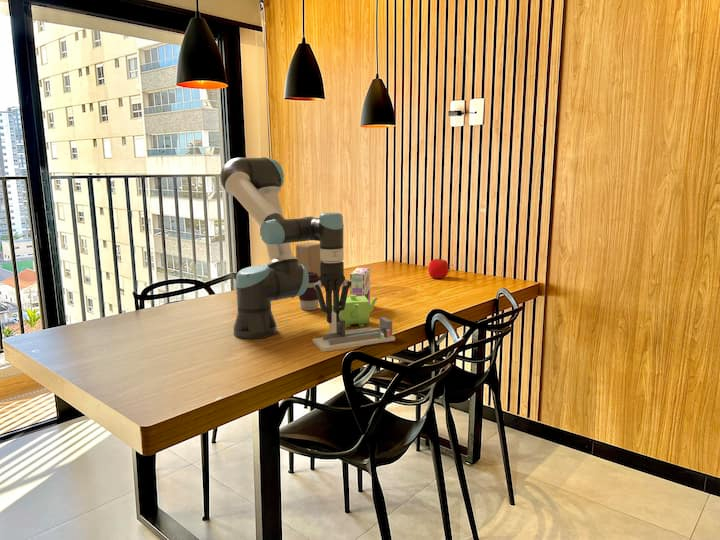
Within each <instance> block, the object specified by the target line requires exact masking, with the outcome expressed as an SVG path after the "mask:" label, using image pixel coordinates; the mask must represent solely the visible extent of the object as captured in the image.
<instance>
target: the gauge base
mask: <svg viewBox="0 0 720 540" xmlns="http://www.w3.org/2000/svg"><path fill="white" fill-rule="evenodd" d="M380 327H382V328H383V329H384V328H386V329H389V330H390V337H384V331H382V330H381V334H380V332H373V333H366V334H359V335H352V336H345V337H341V335H339V334H338V333H332V332H329V333H328V332H327V333H322V337H318V338H317V337H316V338H312V343H313V344H314V345H315V346H316V347H317V348H318V349H319V350H320V351H321V352H329V351H337V350H343V349H349V348H354V347H362V346H368V345H375V344H380V343H388V342H394V341H395V342H396V337H395V335H393V321H392V320H391V319H389V318H387V317H385V316H381V317H379V328H380ZM372 328H373V327H361V328H357V329H349V330H345V332H351V331H358V330H365V329H372Z"/></svg>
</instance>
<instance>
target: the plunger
mask: <svg viewBox="0 0 720 540" xmlns="http://www.w3.org/2000/svg"><path fill="white" fill-rule="evenodd" d="M336 327H337V333H338V334H339V335H341V337H345V336H352V335H359V334H366V333H373V332H380V334H381V330H382V331H384V337H387V329H386V328H384V329H383V328H382V327H380V326H379V327H374V328H373V327H372V329H365V330H358V331H351V332H345V331H346V327H345V320H343V319H342V318H340V317H339V322H336Z"/></svg>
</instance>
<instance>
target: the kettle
mask: <svg viewBox="0 0 720 540" xmlns="http://www.w3.org/2000/svg"><path fill="white" fill-rule="evenodd" d="M340 297H341V296H339V301H340ZM380 298H381V297H380V296H379V297H378V296H377V297H373V298H372V299H371V300H370V306H369V301H368V299H367V298H366V297H365V296H357V295H349V296H347V299H346V304H345V308H344V310H341V311H340V313H339V317H340V318H342V319H343V320H345V328H350V327H351V326H352V325H358V326H359V327H360V328H365V324H370V314H371V313H372V311H373V310H374V308H375V304H376V302H377V300H379V299H380ZM332 312H334V310H333V304H332Z"/></svg>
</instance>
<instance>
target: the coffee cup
mask: <svg viewBox="0 0 720 540" xmlns="http://www.w3.org/2000/svg"><path fill="white" fill-rule="evenodd" d="M308 276H309V282H308V286H307V289H306V291H305V292H304V293H303V294H302V295H300V296H298V300H299V304H300V309H301V310H303V311H315V310H317V309H318V308H319V300H318V297H317V293H316V290H315V288H314V287H313V284H314V283H317V282H318V281H319V278H320V276H318V275H317V273H315V272H308Z"/></svg>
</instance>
